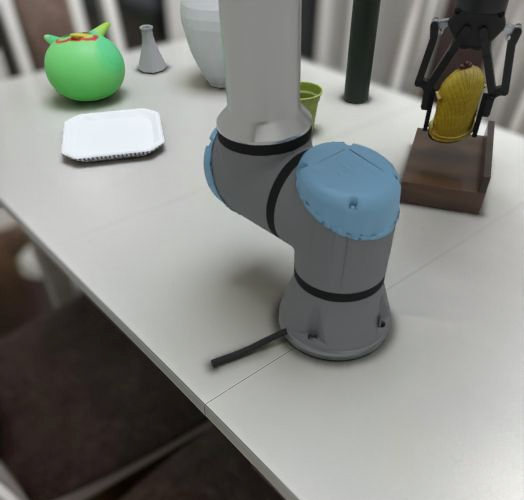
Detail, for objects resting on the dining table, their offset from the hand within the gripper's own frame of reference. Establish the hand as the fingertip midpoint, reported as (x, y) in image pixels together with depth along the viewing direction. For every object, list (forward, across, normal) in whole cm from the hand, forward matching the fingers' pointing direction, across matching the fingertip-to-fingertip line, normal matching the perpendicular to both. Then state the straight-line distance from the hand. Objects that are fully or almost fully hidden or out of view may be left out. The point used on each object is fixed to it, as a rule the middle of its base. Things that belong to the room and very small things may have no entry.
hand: (449, 130), depth 94 cm
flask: (+9, -78, +36) cm, 86 cm away
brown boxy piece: (+9, +1, 0) cm, 9 cm away
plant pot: (+9, -31, +11) cm, 34 cm away
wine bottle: (+9, -22, +31) cm, 40 cm away
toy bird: (+9, -84, +14) cm, 85 cm away
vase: (+9, -56, +32) cm, 65 cm away
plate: (+9, -67, -5) cm, 68 cm away
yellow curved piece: (+2, 0, 0) cm, 2 cm away
